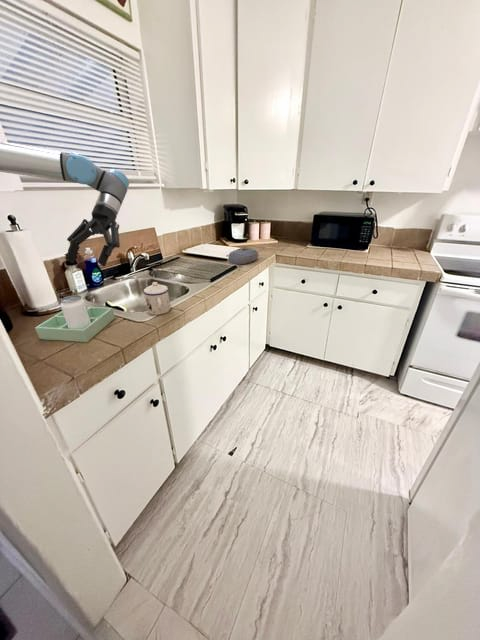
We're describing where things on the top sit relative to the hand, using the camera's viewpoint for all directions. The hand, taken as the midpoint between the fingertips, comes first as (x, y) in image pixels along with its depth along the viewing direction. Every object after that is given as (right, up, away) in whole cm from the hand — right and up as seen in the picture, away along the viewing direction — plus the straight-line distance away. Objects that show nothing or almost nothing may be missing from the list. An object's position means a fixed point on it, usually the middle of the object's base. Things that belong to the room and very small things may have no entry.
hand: (84, 262), depth 88 cm
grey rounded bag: (+56, +19, +81) cm, 100 cm away
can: (0, -24, -1) cm, 24 cm away
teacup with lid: (+21, -16, +15) cm, 30 cm away
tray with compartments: (-4, -22, +3) cm, 23 cm away
